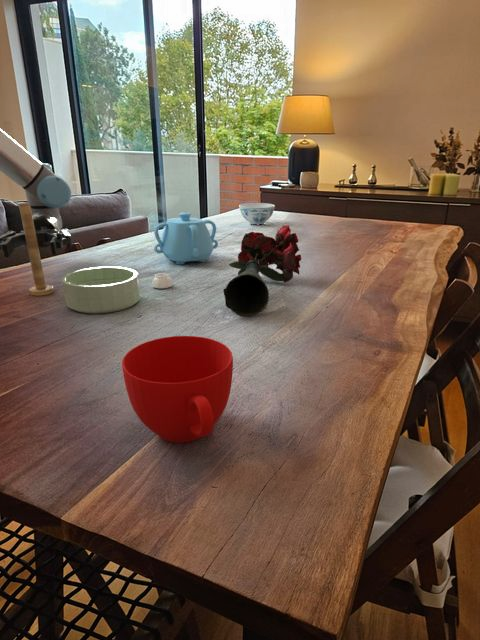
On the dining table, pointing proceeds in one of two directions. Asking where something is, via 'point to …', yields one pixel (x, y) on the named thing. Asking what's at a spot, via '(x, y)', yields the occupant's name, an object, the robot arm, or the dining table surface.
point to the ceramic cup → (179, 385)
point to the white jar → (162, 281)
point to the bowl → (101, 289)
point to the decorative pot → (186, 239)
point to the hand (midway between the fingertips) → (29, 249)
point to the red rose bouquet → (261, 269)
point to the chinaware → (256, 212)
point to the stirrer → (34, 252)
